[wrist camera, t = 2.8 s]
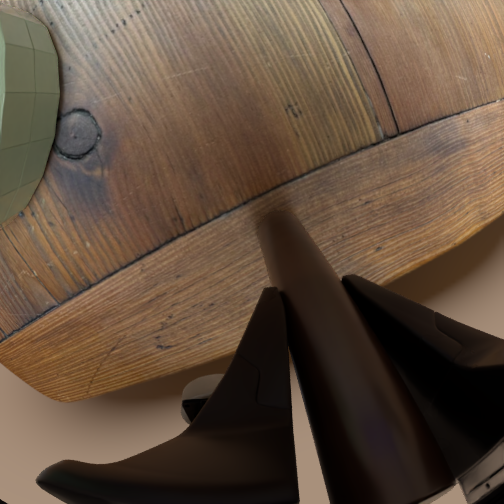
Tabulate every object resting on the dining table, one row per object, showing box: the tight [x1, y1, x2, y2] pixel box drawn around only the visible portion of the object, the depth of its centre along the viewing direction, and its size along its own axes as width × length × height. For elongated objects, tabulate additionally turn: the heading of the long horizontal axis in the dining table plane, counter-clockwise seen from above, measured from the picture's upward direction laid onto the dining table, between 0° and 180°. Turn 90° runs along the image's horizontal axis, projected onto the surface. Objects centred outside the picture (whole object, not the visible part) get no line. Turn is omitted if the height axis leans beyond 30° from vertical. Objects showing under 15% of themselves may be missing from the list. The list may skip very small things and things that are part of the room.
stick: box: [258, 211, 456, 504], centre depth 9 cm, size 2×2×13 cm
